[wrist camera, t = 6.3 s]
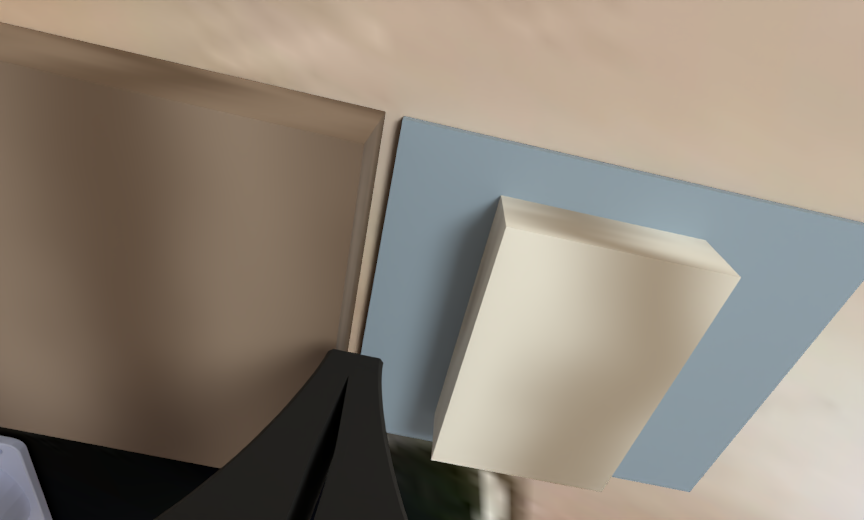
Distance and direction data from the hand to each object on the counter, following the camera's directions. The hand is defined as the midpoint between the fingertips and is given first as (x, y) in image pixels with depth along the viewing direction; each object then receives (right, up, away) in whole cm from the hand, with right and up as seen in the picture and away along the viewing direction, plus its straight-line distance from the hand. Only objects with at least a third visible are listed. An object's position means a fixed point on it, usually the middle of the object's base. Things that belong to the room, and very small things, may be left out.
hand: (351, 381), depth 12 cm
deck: (-6, +3, +3) cm, 8 cm away
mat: (+7, 0, +4) cm, 8 cm away
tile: (+6, -1, +2) cm, 6 cm away
